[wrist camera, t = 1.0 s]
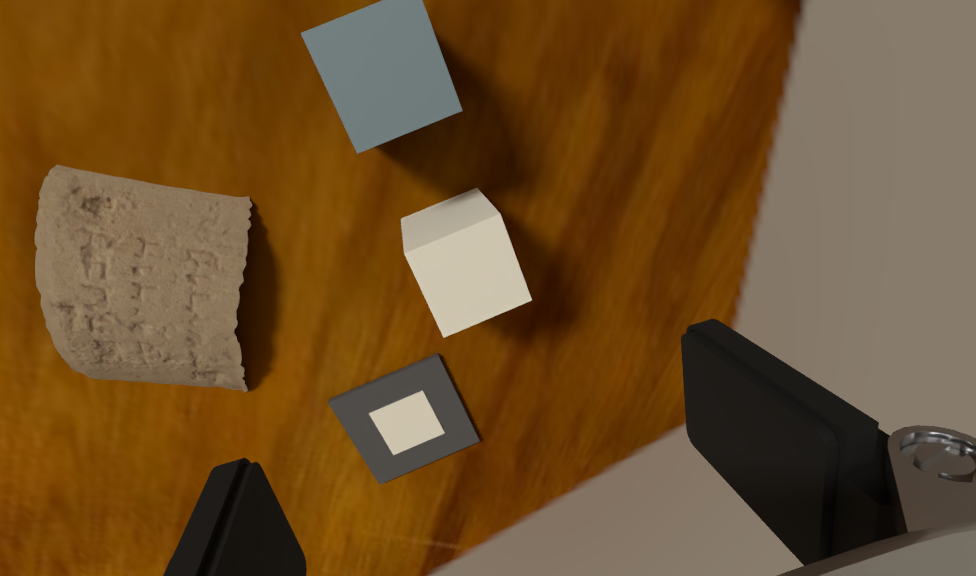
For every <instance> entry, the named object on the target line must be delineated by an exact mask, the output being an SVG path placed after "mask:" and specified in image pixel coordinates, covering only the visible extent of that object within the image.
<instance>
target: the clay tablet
mask: <svg viewBox="0 0 976 576" xmlns="http://www.w3.org/2000/svg"><path fill="white" fill-rule="evenodd" d="M39 195H40V200H39V202H38V205H39V210H38V213H37V217H36V221H37V224H38V226H37V228H36V231H35V237H34V239H35V245H36V247H37V248H38V249H37V251H36V258H35V277H36V286H37V288H38V290H39V292H40V293H41V308H42V310H43V313H44V317H45V318H46V327H47V329H48V331H49V332H50V334H51V336H52V340H53V344H54V346H55V347H56V349H57V351H58V352H59V353H60V354H61V357H62V358H63V359H65V362H66V363H68V364H69V365H70V368H72V369H73V370H75V371H76V372H81V373H83V374H85V375H87V376H88V377H89V378H94V379H105V380H125V381H144V382H151V383H164V384H181V385H192V386H204V387H213V386H220V387H224V388H228V389H234V390H243V392H247V391H248V390H247V386H246V384H245V381H244V380H243V379H242V377H244V371H245V369H244V367H242V366H241V365H240V364H241V361H242V356H241V349H240V344H239V342H238V341H237V337H236V335H235V334H234V330H235V328H236V327H237V324H238V322H237V319H236V316H237V314H236V310H237V308H238V304H239V299H240V294H239V287H240V285H241V284H242V283H243V282H244V279H243V274H242V272H243V270H244V268H245V266H246V259H245V258H246V256H247V245H248V236H247V235H248V233H247V230H248V229H249V228H250V226H251V223H250V221H249V220H248V218H249V217H250V216H251V213H250V211H249V209H250V208H251V207H252V203H251V201H250V197H232V196H227V195H220V194H212V193H205V192H199V191H194V190H189V189H182V188H175V187H168V186H163V185H157V184H152V183H147V182H143V181H137V180H133V179H127V178H121V177H113V176H109V175H105V174H99V173H94V172H89V171H83V170H78V169H73V168H69V167H65V166H60V165H57V164H56V166H55V167H54V168H52V169H50V172H49V174H48V176H47V177H45V179H44V182H43V185H42V188H41V190H40V192H39Z"/></svg>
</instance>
